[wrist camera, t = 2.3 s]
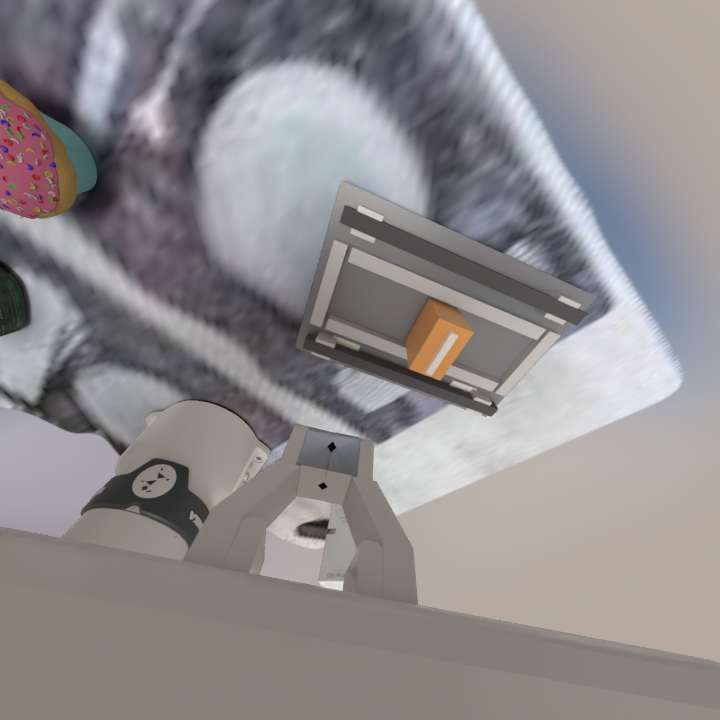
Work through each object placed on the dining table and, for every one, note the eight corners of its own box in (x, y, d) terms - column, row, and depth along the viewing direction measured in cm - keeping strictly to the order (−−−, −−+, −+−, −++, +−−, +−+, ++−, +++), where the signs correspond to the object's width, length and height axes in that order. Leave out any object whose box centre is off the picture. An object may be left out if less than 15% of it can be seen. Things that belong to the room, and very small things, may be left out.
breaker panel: (480, 405, 32) (490, 426, 29) (300, 339, 29) (290, 355, 26) (582, 290, 24) (610, 302, 21) (344, 181, 21) (337, 178, 18)
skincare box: (363, 496, 45) (357, 581, 35) (369, 509, 48) (365, 594, 37) (331, 498, 47) (316, 581, 36) (338, 511, 49) (326, 593, 39)
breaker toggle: (431, 351, 26) (441, 384, 22) (405, 341, 26) (409, 372, 21) (458, 309, 24) (476, 336, 19) (429, 297, 23) (440, 321, 19)
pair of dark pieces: (487, 409, 29) (491, 416, 28) (305, 342, 27) (302, 348, 26) (578, 308, 23) (588, 313, 22) (346, 205, 20) (344, 205, 19)
